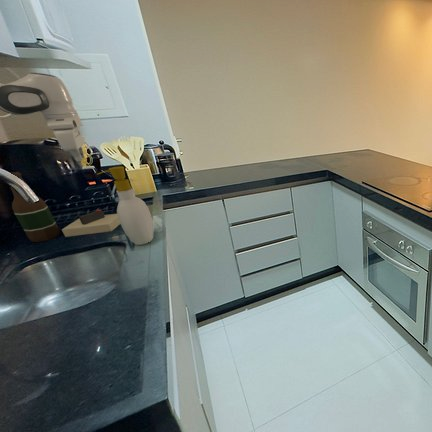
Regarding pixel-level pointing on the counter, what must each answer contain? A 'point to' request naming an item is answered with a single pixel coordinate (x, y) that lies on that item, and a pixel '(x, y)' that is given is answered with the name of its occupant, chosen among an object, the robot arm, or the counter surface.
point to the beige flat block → (92, 226)
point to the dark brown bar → (91, 217)
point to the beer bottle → (34, 217)
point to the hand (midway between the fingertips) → (80, 159)
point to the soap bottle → (132, 210)
